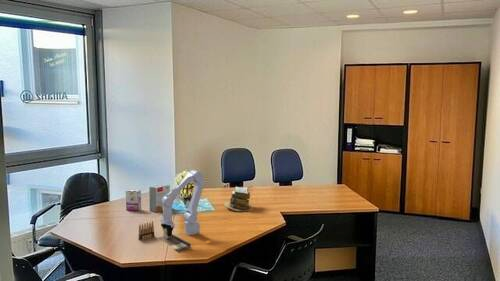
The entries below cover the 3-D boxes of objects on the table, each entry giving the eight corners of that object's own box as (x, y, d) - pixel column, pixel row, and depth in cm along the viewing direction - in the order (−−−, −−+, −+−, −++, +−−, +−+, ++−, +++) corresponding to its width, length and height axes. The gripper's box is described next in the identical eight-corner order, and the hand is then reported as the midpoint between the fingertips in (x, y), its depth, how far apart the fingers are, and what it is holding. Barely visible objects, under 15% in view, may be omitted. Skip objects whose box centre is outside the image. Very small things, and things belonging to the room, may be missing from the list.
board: (169, 236, 275) (169, 232, 274) (190, 248, 255) (190, 243, 255) (157, 240, 269) (157, 235, 269) (177, 252, 249) (177, 247, 249)
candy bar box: (141, 209, 337) (141, 189, 335) (138, 211, 332) (138, 191, 330) (129, 208, 339) (128, 189, 337) (126, 210, 334) (125, 190, 332)
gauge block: (169, 235, 272) (168, 226, 271) (172, 237, 269) (172, 228, 268) (163, 237, 270) (163, 228, 269) (166, 238, 266) (166, 229, 266)
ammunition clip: (153, 238, 273) (153, 220, 271) (154, 238, 271) (154, 221, 270) (138, 241, 266) (137, 223, 264) (139, 242, 264) (139, 224, 263)
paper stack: (257, 205, 352) (257, 186, 350) (249, 213, 328) (249, 193, 326) (229, 203, 358) (229, 184, 356) (219, 211, 335) (219, 190, 332)
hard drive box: (155, 212, 329) (155, 188, 327) (149, 210, 334) (148, 186, 331) (170, 208, 341) (169, 184, 339) (164, 206, 346) (163, 183, 343)
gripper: (156, 213, 270) (156, 233, 272) (167, 218, 259) (167, 239, 261) (166, 211, 275) (166, 231, 277) (177, 216, 264) (177, 237, 266)
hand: (167, 235), depth 269 cm, fingers closed on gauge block, 4 cm apart
